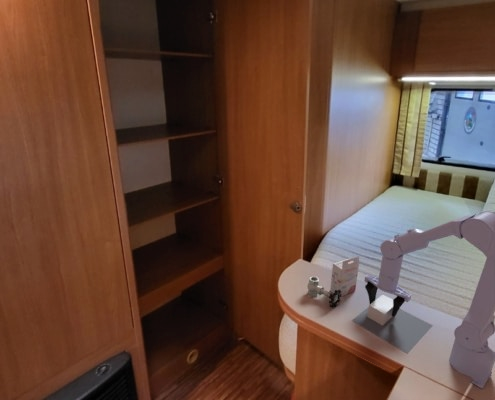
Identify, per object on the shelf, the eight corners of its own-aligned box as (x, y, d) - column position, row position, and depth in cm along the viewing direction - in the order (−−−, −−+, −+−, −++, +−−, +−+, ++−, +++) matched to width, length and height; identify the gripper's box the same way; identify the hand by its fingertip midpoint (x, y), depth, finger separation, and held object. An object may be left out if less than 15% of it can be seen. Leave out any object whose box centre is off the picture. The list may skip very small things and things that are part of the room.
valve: (302, 295, 120) (330, 311, 112) (303, 279, 118) (332, 295, 109) (313, 288, 124) (341, 303, 116) (314, 273, 122) (343, 287, 114)
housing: (380, 305, 113) (382, 294, 112) (395, 313, 109) (398, 302, 108) (367, 316, 108) (368, 305, 106) (382, 325, 104) (384, 313, 102)
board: (432, 327, 105) (434, 318, 103) (406, 356, 93) (408, 346, 92) (379, 300, 117) (380, 292, 116) (351, 322, 106) (352, 313, 105)
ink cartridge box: (345, 284, 127) (350, 250, 122) (355, 291, 123) (360, 256, 118) (329, 290, 123) (333, 255, 118) (338, 297, 119) (343, 262, 114)
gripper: (418, 278, 100) (410, 315, 105) (374, 260, 111) (368, 294, 115) (408, 287, 96) (400, 324, 101) (363, 267, 106) (358, 302, 111)
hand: (382, 309), depth 108 cm, fingers open, 7 cm apart
